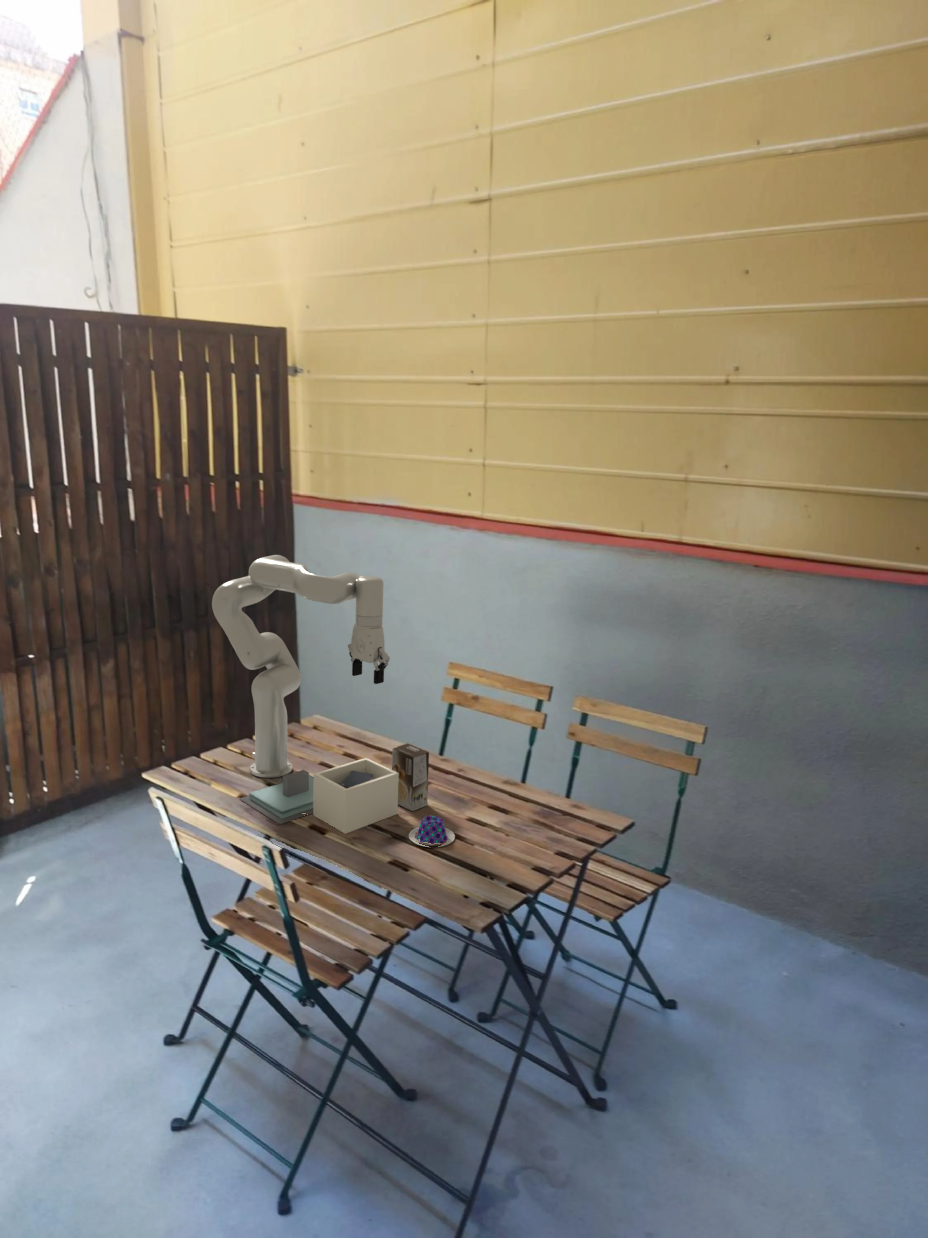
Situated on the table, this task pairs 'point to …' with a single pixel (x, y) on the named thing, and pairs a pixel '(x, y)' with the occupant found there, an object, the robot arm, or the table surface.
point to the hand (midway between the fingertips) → (367, 679)
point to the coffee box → (411, 775)
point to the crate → (355, 796)
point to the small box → (356, 779)
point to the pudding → (432, 831)
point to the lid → (287, 795)
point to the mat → (270, 814)
